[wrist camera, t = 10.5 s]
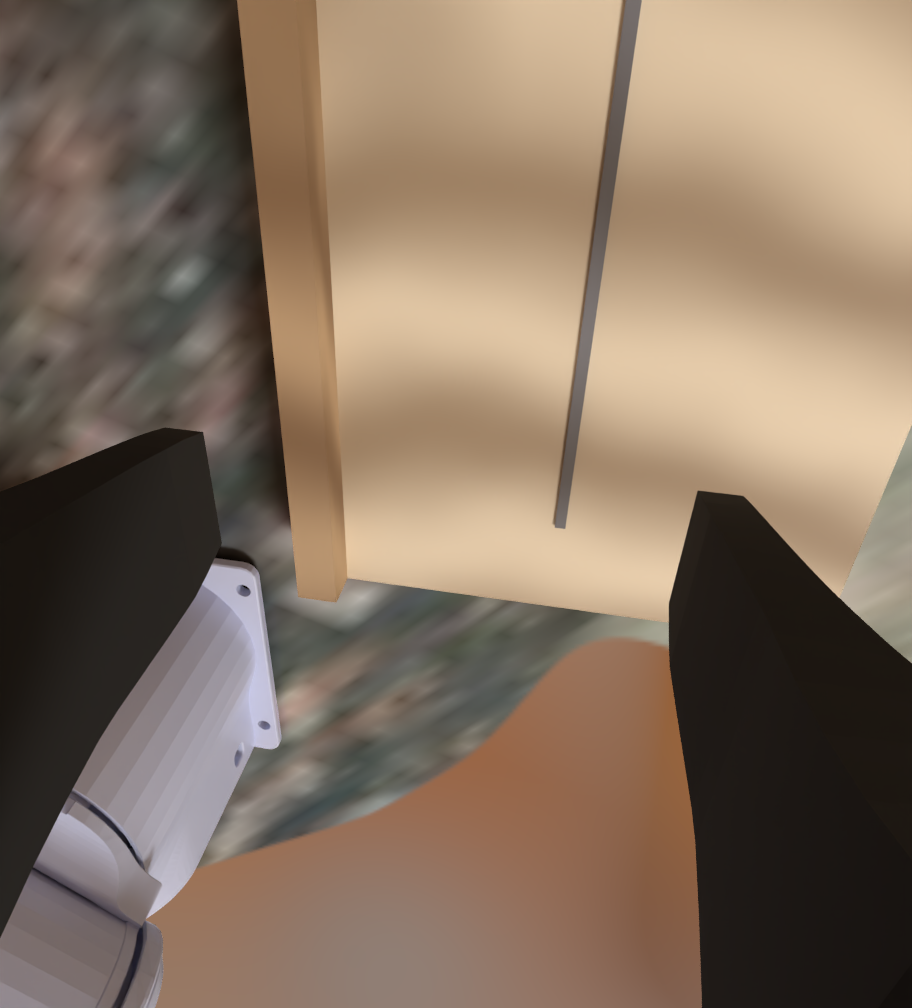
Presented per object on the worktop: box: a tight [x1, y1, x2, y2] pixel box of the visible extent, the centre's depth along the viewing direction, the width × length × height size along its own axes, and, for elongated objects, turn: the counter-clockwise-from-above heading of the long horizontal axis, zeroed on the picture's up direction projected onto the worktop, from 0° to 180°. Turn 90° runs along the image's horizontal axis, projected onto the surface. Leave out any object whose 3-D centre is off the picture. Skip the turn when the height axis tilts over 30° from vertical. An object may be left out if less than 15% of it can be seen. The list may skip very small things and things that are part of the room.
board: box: [237, 0, 912, 622], centre depth 17 cm, size 22×16×3 cm
